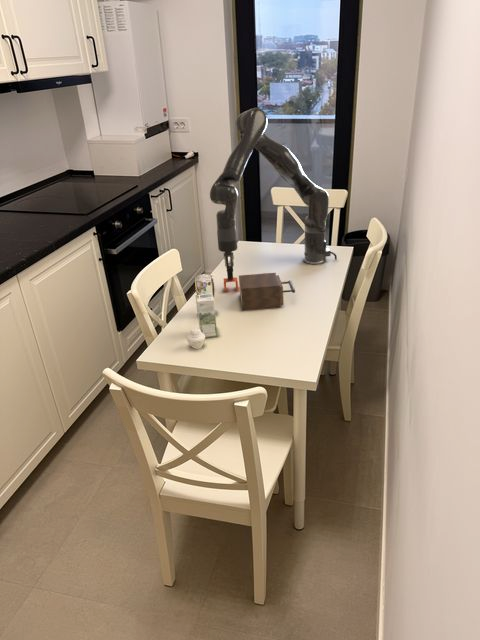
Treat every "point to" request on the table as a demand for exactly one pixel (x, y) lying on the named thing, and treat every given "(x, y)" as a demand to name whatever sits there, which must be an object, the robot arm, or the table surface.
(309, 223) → the robot arm
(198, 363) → the table surface
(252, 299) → the cabinet
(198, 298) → the syrup box
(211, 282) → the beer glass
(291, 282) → the drawer
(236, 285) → the orange angular part
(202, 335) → the muffin
